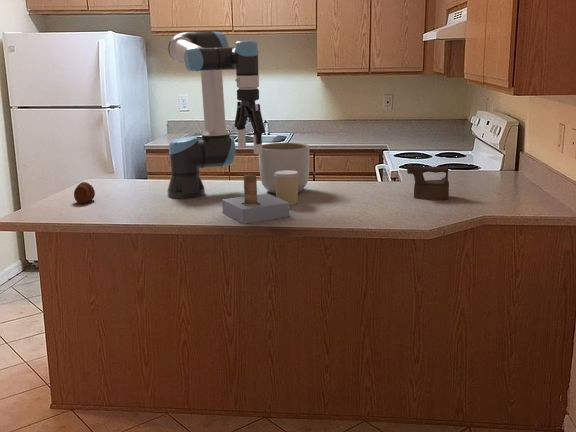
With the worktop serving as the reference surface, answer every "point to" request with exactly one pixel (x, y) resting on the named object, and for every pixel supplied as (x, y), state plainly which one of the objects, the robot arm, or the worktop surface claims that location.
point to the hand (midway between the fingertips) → (249, 150)
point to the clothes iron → (429, 183)
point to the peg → (250, 190)
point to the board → (256, 209)
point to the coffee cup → (287, 185)
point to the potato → (84, 193)
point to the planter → (283, 163)
